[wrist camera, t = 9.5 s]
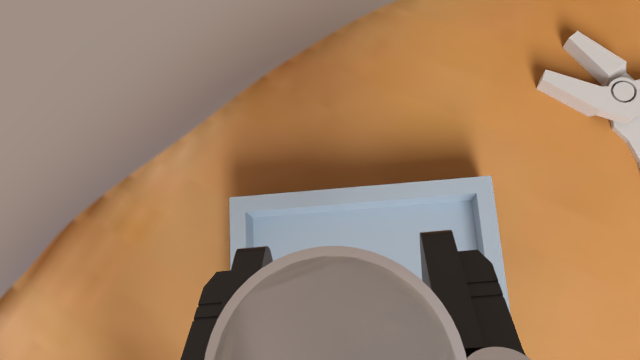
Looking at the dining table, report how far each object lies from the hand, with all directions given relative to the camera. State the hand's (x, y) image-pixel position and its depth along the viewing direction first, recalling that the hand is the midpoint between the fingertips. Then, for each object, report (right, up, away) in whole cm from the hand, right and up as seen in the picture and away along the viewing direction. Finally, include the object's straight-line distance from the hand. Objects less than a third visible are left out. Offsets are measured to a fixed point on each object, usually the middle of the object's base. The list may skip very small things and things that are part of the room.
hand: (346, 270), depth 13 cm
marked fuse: (+1, -3, +3) cm, 4 cm away
